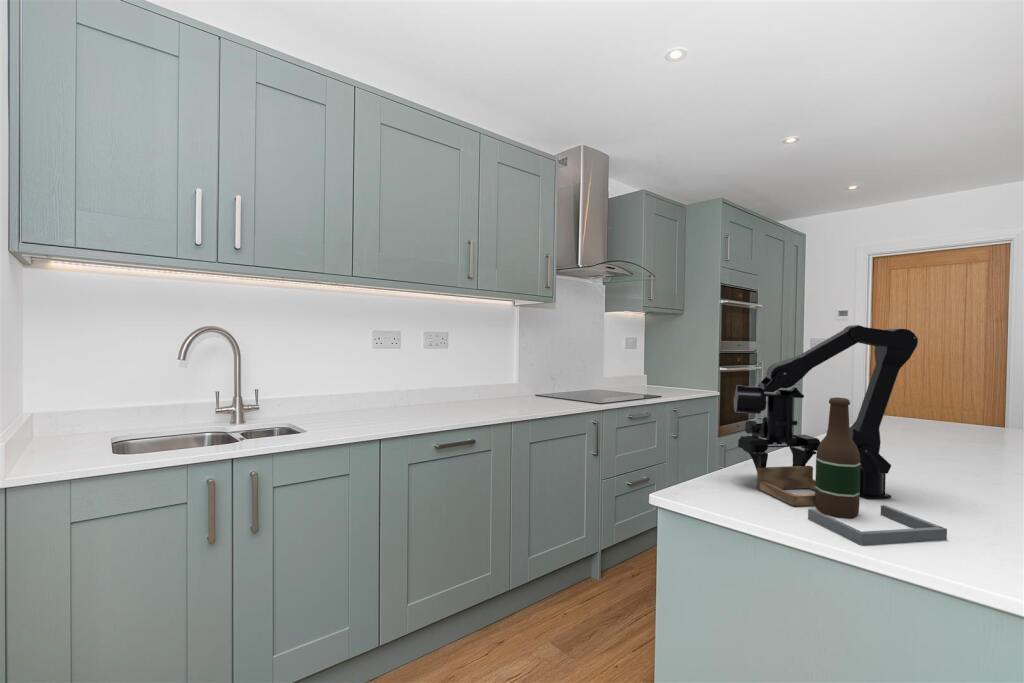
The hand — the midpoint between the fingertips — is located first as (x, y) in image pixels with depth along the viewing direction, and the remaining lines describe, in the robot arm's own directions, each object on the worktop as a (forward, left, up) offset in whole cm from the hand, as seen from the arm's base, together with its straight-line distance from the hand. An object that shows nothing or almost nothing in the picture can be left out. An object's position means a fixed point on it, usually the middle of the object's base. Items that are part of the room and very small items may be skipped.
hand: (778, 478), depth 121 cm
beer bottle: (0, +18, -2) cm, 18 cm away
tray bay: (0, +26, -2) cm, 26 cm away
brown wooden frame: (0, +8, -2) cm, 8 cm away
